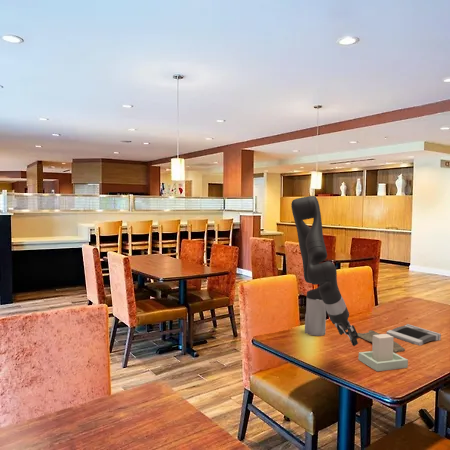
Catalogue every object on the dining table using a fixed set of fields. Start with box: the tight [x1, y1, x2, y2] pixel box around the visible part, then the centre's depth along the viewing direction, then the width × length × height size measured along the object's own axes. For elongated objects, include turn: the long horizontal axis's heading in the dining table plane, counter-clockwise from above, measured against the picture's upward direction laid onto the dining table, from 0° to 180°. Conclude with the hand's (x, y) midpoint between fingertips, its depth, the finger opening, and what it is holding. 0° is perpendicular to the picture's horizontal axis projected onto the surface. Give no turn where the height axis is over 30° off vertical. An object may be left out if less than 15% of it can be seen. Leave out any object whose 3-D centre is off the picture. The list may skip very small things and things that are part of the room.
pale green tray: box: [357, 350, 409, 372], centre depth 156 cm, size 11×14×3 cm
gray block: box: [371, 333, 395, 362], centre depth 155 cm, size 4×6×10 cm, turn 106°
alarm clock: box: [386, 323, 442, 347], centre depth 187 cm, size 17×5×16 cm
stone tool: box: [357, 329, 406, 354], centre depth 180 cm, size 11×3×25 cm
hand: (348, 339), depth 155 cm, fingers open, 8 cm apart
